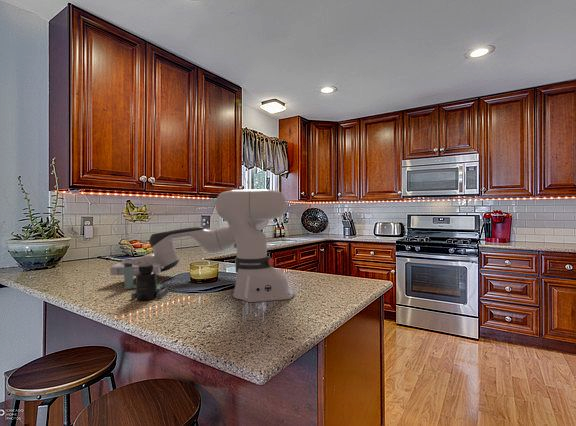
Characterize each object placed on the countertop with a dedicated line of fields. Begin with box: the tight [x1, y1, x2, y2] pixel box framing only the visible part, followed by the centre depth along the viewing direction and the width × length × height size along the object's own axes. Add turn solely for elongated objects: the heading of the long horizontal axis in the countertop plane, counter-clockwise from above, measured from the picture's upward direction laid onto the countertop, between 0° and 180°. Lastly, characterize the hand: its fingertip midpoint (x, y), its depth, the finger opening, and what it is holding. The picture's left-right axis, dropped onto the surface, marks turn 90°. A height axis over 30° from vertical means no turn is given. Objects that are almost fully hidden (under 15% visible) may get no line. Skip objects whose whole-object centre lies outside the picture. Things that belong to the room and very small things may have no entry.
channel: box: [130, 287, 169, 300], centre depth 120 cm, size 10×8×2 cm
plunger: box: [123, 263, 164, 293], centre depth 126 cm, size 18×13×10 cm
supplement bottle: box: [135, 265, 158, 302], centre depth 117 cm, size 7×7×12 cm
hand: (128, 273), depth 132 cm, fingers closed, pressing on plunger
